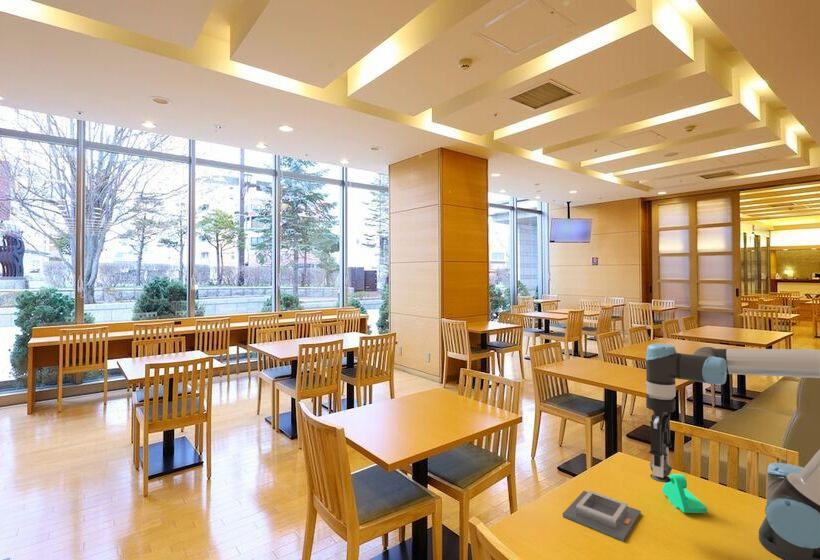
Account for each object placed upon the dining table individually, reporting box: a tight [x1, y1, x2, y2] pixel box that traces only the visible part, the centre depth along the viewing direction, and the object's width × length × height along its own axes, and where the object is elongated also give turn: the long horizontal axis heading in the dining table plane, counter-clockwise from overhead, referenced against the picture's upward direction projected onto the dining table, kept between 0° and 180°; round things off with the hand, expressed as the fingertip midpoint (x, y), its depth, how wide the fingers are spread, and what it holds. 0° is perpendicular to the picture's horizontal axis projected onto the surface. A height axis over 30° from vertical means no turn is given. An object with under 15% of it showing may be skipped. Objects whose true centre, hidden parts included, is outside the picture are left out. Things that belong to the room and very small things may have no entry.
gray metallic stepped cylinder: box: [648, 442, 673, 484], centre depth 125 cm, size 6×6×12 cm
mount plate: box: [562, 490, 642, 542], centre depth 132 cm, size 18×18×4 cm
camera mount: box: [661, 473, 708, 514], centre depth 138 cm, size 12×8×10 cm, turn 178°
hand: (660, 471), depth 125 cm, fingers closed on gray metallic stepped cylinder, 6 cm apart
